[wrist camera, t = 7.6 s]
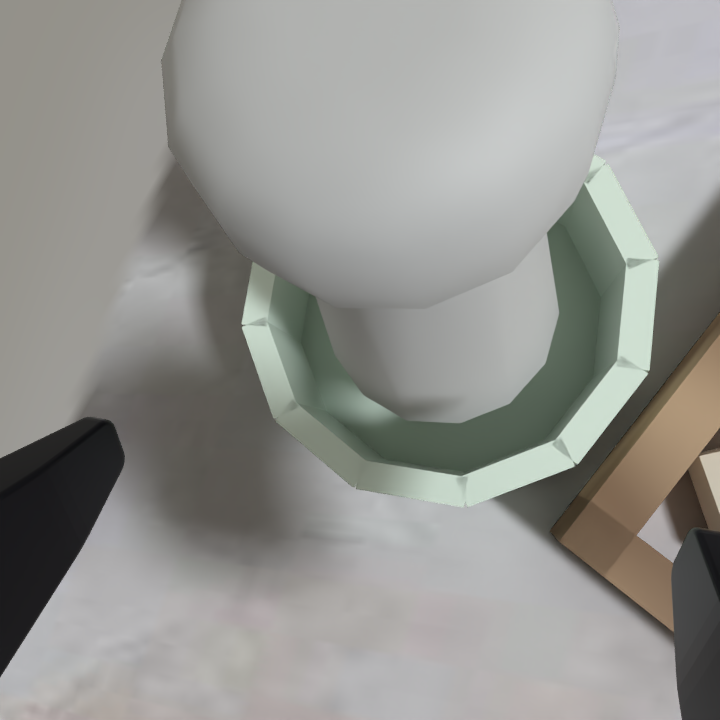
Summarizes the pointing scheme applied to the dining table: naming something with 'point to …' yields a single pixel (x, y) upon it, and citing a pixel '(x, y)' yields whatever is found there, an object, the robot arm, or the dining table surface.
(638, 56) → the dining table surface
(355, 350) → the salt shaker
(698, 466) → the beige rectangular block
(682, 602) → the robot arm
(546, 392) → the bowl
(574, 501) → the tray
